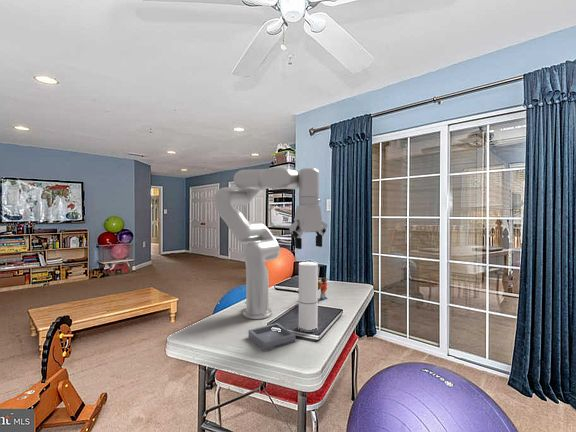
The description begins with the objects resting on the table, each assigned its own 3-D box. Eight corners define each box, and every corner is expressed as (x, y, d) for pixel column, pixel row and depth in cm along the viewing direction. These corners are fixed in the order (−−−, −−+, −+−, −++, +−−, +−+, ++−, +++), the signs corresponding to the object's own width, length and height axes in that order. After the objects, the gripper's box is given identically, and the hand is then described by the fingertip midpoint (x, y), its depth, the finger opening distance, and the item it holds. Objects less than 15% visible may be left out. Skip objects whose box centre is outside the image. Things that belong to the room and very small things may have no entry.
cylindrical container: (316, 324, 117) (316, 261, 116) (318, 332, 109) (319, 265, 108) (297, 325, 116) (298, 261, 115) (299, 333, 109) (299, 265, 108)
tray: (248, 337, 106) (248, 330, 106) (277, 329, 112) (277, 322, 112) (264, 351, 96) (264, 343, 96) (295, 341, 102) (295, 334, 102)
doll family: (312, 310, 133) (312, 281, 132) (293, 306, 138) (293, 278, 137) (329, 297, 151) (329, 271, 151) (312, 294, 156) (312, 269, 156)
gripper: (320, 202, 119) (320, 244, 119) (283, 202, 109) (284, 248, 110) (333, 201, 113) (332, 246, 113) (295, 201, 103) (295, 250, 104)
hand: (308, 247), depth 111 cm, fingers open, 9 cm apart
